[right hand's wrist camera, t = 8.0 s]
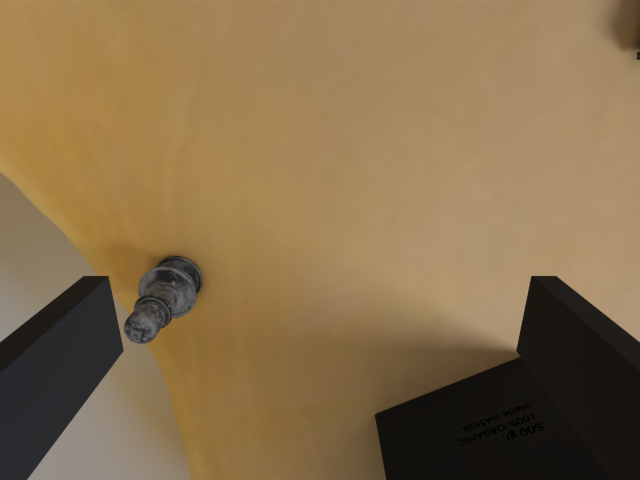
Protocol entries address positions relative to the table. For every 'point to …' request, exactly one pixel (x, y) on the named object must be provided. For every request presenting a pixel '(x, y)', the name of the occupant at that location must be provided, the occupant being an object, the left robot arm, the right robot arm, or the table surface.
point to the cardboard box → (485, 433)
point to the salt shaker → (163, 298)
